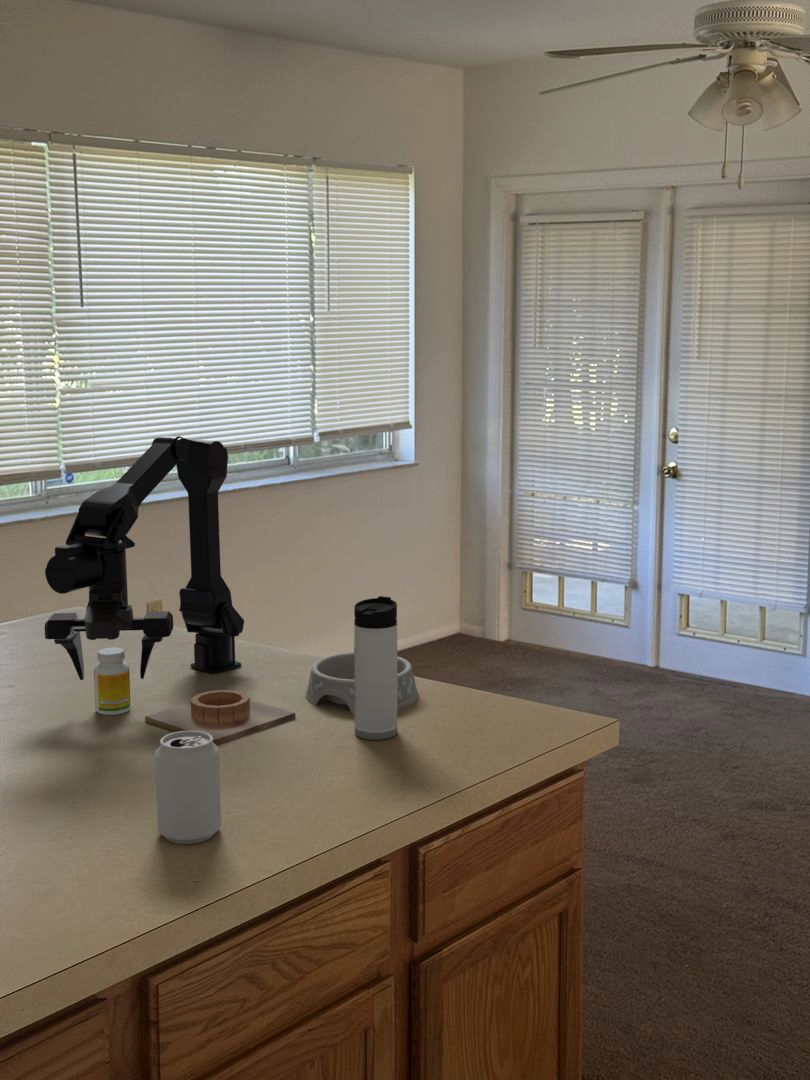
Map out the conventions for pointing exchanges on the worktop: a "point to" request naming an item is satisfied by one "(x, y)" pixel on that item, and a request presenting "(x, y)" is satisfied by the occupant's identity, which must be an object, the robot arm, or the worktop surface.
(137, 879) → the worktop surface
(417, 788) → the worktop surface
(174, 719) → the collar board
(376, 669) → the travel mug
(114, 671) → the supplement bottle
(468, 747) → the worktop surface
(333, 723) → the worktop surface
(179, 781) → the can
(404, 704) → the dog bowl
